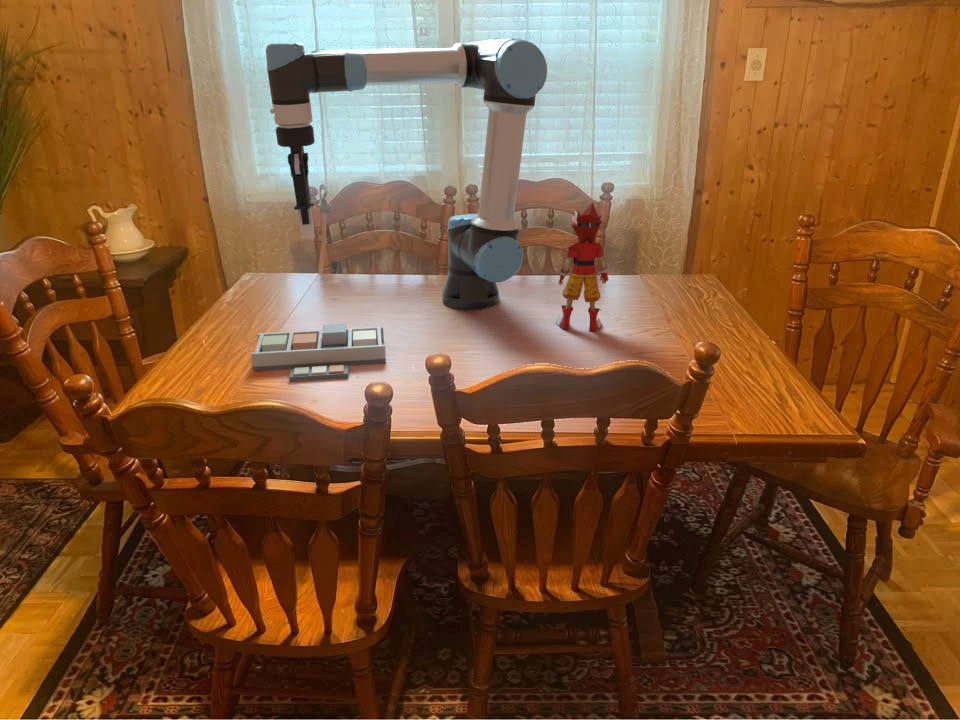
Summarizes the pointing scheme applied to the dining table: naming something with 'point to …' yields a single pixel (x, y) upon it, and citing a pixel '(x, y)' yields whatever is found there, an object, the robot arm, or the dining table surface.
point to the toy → (583, 268)
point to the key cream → (364, 338)
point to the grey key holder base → (319, 352)
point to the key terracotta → (305, 341)
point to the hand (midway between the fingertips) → (308, 237)
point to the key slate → (334, 334)
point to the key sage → (274, 343)
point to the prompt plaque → (319, 373)
